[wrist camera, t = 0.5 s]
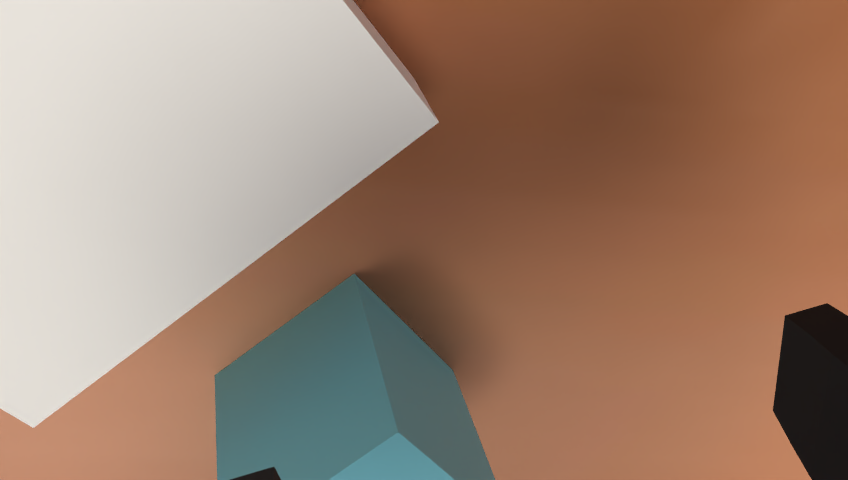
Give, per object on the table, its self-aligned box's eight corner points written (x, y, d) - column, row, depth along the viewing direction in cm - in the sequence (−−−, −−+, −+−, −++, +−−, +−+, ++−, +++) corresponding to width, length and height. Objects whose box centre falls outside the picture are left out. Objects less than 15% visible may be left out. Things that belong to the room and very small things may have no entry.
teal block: (325, 457, 26) (355, 632, 21) (214, 374, 23) (219, 554, 18) (452, 369, 25) (514, 530, 20) (353, 272, 22) (398, 432, 17)
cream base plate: (52, 347, 22) (33, 427, 19) (-474, -6, 15) (-606, 49, 13) (410, 71, 20) (439, 122, 17) (-14, -473, 13) (-65, -516, 11)
